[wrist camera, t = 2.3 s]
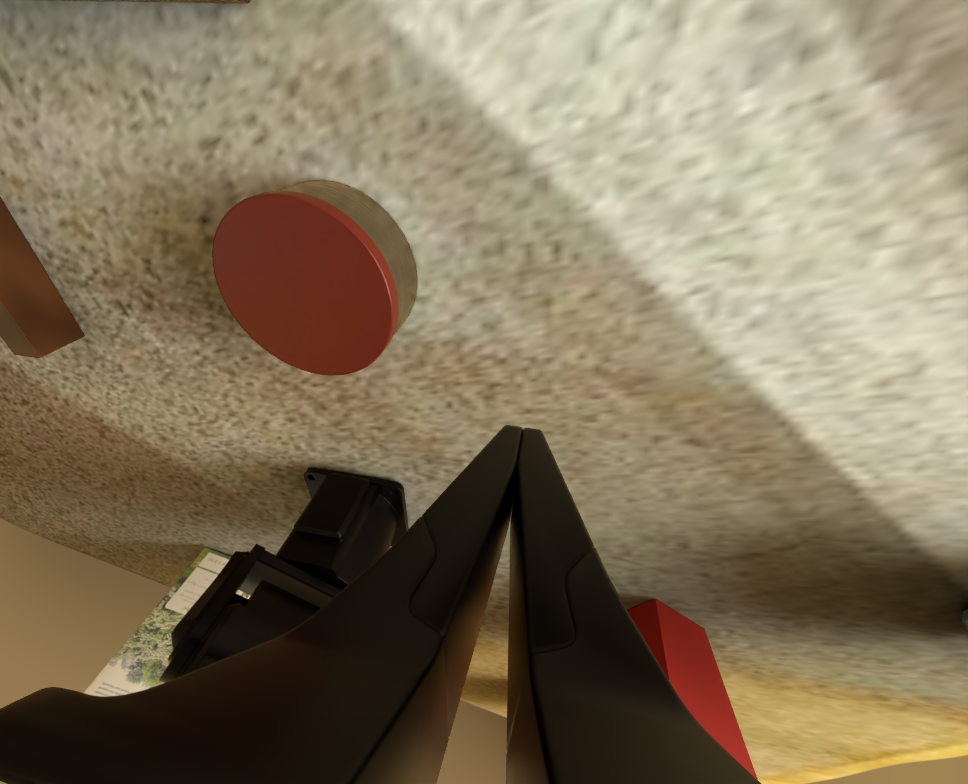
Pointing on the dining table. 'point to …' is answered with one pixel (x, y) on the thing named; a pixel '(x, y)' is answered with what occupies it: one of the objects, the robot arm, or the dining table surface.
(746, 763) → the french fries
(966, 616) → the snack cup
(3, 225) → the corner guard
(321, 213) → the tin
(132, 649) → the syrup box
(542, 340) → the dining table surface
